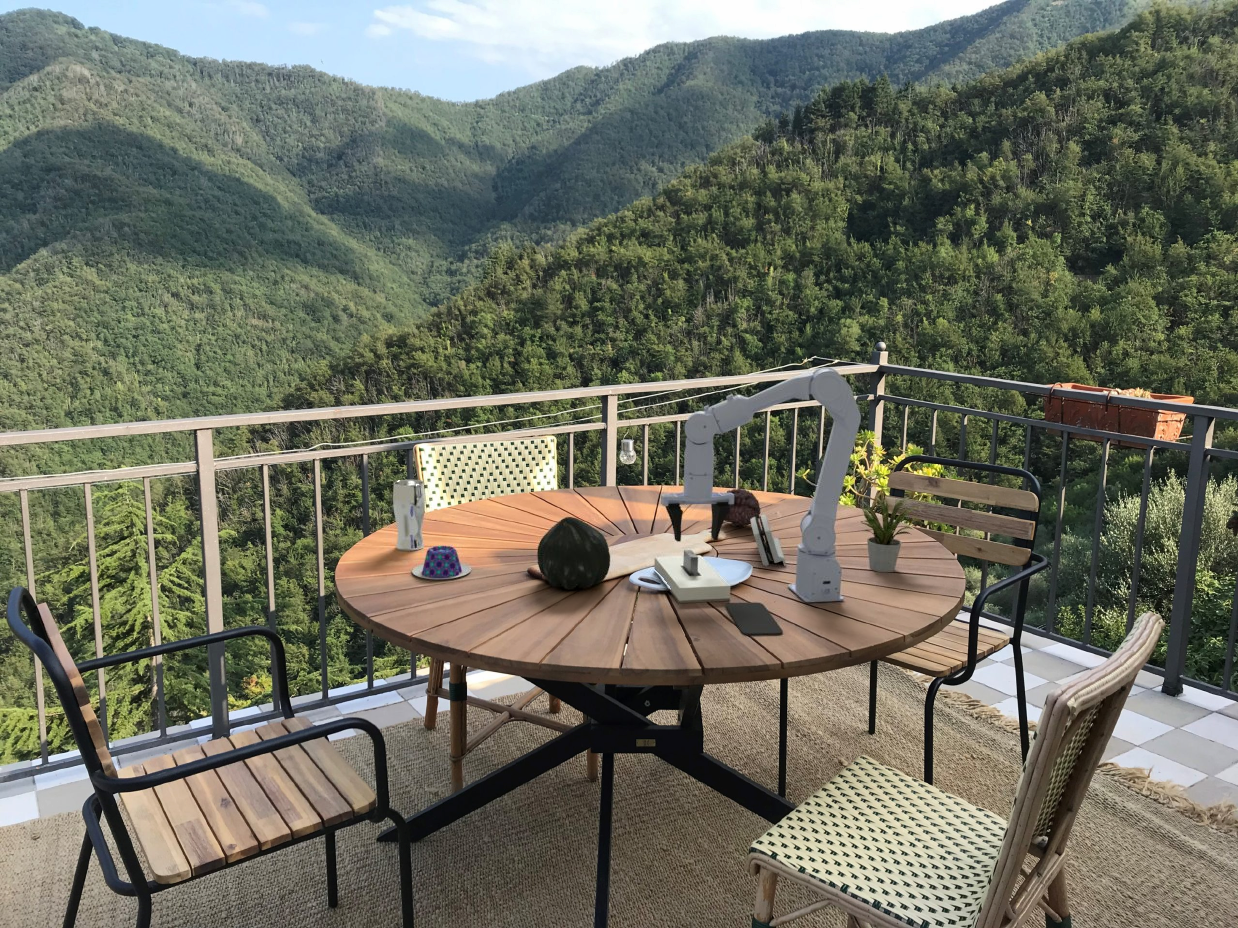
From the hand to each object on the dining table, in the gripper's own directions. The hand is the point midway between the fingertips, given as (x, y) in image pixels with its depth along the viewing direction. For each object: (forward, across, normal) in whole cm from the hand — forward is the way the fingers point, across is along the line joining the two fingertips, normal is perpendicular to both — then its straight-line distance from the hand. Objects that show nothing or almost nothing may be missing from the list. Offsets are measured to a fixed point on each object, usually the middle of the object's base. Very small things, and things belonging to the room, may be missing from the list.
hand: (696, 539), depth 173 cm
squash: (+10, +24, -4) cm, 26 cm away
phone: (+10, -5, +20) cm, 23 cm away
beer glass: (+9, +57, -34) cm, 67 cm away
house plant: (+10, -45, -4) cm, 46 cm away
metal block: (+9, +1, 0) cm, 9 cm away
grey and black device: (+10, -22, -18) cm, 30 cm away
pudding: (+10, +50, -15) cm, 53 cm away
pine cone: (+10, -24, -42) cm, 49 cm away
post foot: (+9, +1, 0) cm, 9 cm away
